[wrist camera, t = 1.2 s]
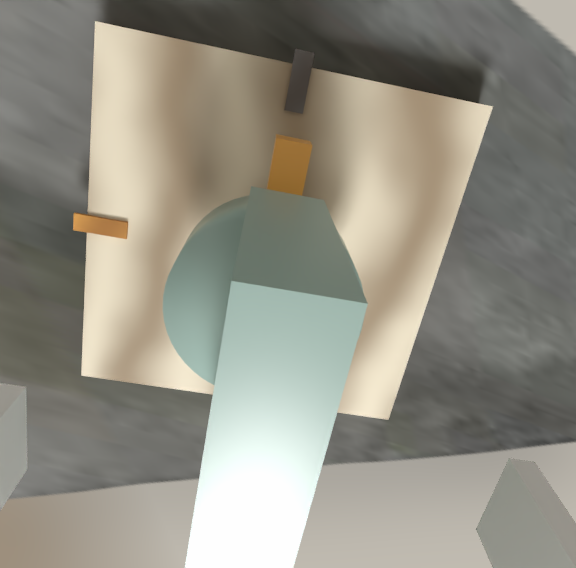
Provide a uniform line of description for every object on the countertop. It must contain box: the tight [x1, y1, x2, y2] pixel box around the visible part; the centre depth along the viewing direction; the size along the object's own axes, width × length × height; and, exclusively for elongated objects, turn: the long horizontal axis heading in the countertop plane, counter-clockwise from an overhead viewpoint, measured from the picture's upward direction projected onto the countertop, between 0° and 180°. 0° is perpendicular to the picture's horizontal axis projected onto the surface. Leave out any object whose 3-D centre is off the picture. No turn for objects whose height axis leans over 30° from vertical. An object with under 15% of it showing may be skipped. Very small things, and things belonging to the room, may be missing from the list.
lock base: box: [73, 21, 492, 420], centre depth 28 cm, size 22×22×6 cm
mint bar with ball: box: [163, 134, 368, 568], centre depth 19 cm, size 9×13×14 cm
